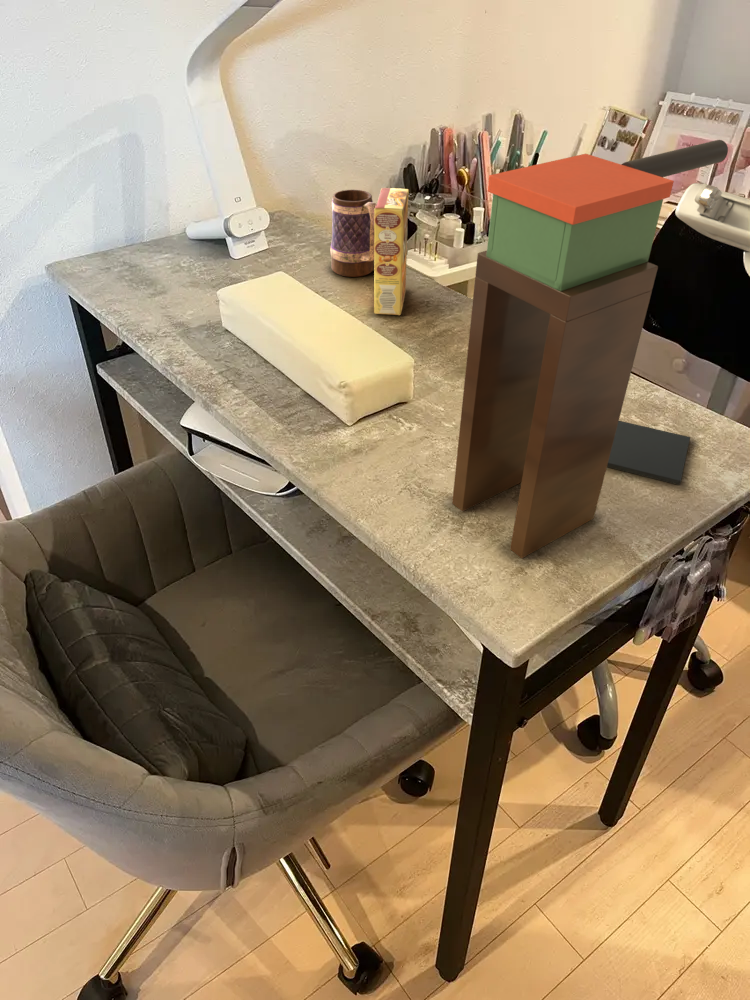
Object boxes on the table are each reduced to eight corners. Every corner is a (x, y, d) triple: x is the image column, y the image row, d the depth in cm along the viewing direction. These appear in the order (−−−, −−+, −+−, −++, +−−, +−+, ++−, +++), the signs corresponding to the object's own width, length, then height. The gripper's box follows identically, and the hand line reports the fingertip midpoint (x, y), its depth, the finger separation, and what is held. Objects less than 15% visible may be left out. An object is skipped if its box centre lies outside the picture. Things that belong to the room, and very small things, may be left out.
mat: (689, 441, 87) (690, 436, 87) (679, 485, 81) (681, 480, 80) (600, 420, 90) (601, 416, 90) (584, 461, 84) (585, 457, 83)
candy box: (401, 316, 111) (405, 208, 101) (372, 314, 111) (373, 207, 101) (406, 291, 118) (410, 188, 108) (378, 289, 118) (380, 186, 108)
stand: (522, 469, 83) (563, 228, 66) (593, 518, 76) (658, 266, 60) (451, 503, 78) (477, 252, 62) (521, 558, 72) (570, 296, 55)
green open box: (572, 231, 66) (583, 170, 62) (648, 261, 61) (664, 196, 57) (485, 256, 61) (492, 192, 58) (560, 291, 56) (572, 222, 53)
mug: (323, 265, 125) (321, 189, 117) (361, 257, 128) (361, 183, 120) (353, 288, 118) (353, 209, 110) (392, 280, 121) (395, 202, 113)
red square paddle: (673, 150, 68) (679, 128, 67) (760, 174, 63) (768, 151, 62) (486, 195, 58) (489, 170, 57) (572, 229, 53) (576, 202, 52)
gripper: (723, 197, 88) (673, 147, 78) (905, 252, 75) (874, 202, 65) (693, 249, 90) (640, 208, 80) (866, 312, 77) (829, 272, 67)
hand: (747, 205), depth 72 cm, fingers open, 8 cm apart
